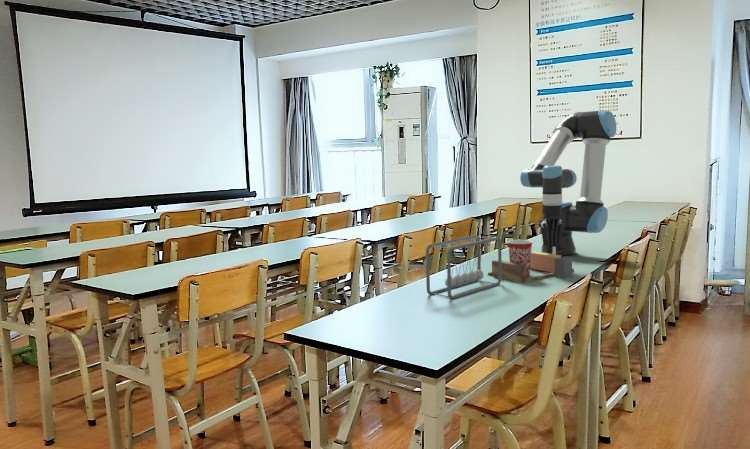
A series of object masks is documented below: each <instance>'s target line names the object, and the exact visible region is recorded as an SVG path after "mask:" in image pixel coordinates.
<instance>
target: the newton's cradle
mask: <svg viewBox="0 0 750 449" xmlns="http://www.w3.org/2000/svg"><path fill="white" fill-rule="evenodd" d="M481 238H482V239H481ZM467 241H468V242H467ZM496 241H497V248H498V249H497V250H498V253H497V254H498V255H497V257H498V259H497V260H498V277H497V278H498V279H497V282H490V281H486V280H485V281H484V280H482V279H483V278H484V272H483V271H482V270H481V266H482V265H481V264H482V263H481V261H482V260H481V259H482V255H483V251H481V249H483V247H484V244H486V243H491V242H496ZM462 242H464V243H462ZM453 244H456V245H453ZM448 245H450V246H448ZM447 246H448V247H447ZM472 246H473V248H475V247H476V249H473V252H474V254H477V255H474V259H473V261H475V262H473V265H472V267H474V266H475V264H476V266H477V267H476V269H475V270H474V269H472V268H471V266H469V270H470V271H468V272H463V273H462V274H461V273H460V272H461V269H459V272H458V273H456V275H454V276H453V274H452V273H453V271H454V268H452V270H451V265H452V266H454V265H457V262H456V261H454V262H453V263H451V253H454V254H453V257H454V258H453V260H456V252H457V250H460V252H461V253H463V250H464V248H466V250H467V259H466V260H467V261H466V265H468V264H469V265H471V263H470V260H469V259H470V257H469V256H470V253H469V251H470V248H471V247H472ZM431 248H441V249H446V250H447V249H448V250H447V251H445V254H446V269H447V270H446V271H447V273H446V274H447V275H446V276H447V278H446V279H445V280H444V281H445V282H444V284H445V286H446V287H443V288H440V289H436V290H433V291H431V286H430V285H431V282H430V278H431V277H430V276H431V275H430V273H431V272H430V249H431ZM461 249H462V250H461ZM452 251H453V252H452ZM476 251H477V252H476ZM476 256H477V258H476ZM460 260H461V262H460V264H459V265H460V266H459V267H462V268H463V269H462V270H463V271H467V270H468V269H467V268H468V266H466V268H465V267H464V266H461V264H464V262H463V261H464V260H463V254H460ZM476 260H477V261H476ZM501 260H502V239H501V238H500V237H497V236H496V237H491V236H490V237H489V236H480V235H478V234H474V235H469V236H464V237H459V238H454V239H450V240H445V241H441V242H433V243H430V244H428V245H427V246H426V248H425V276H426V280H425V281H426V282H425V283H426V293H427V294H428V295H430V296H433V295H436V296H440V297H444V298H445V297H446V298H448V299H450V300H455V299H459V298H461V297H465V296H469V295H472V294H474V293H479V292H481V291H485V290H488V289H491V288H494V287H498V286H499V285H500V284H501V283H502V279H503V278H502V263H501ZM464 268H465V269H466V270H465V269H464ZM455 269H456V270H455V271H458V269H457V267H455ZM460 274H461V275H460ZM478 282H480V283H485V284H487V285H484V286H481V287H478V288H474V289H470V290H468V291H464V292H461V293H458V294H455V295H452V290H453V289H458V288H460V287H464V286H467V285H471V284H474V283H478ZM446 291H447V295H444V294H441V293H443V292H446Z"/></svg>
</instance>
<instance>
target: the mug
mask: <svg viewBox="0 0 750 449" xmlns="http://www.w3.org/2000/svg"><path fill="white" fill-rule="evenodd" d="M507 244H508V254H509V255H508V256H509V262H513V263H518V264H524V265H525V279H527V278H530V276H531V268H530V265H531V251H532V244H533V241H532V240H527V239H512V240H508V241H507Z"/></svg>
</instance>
